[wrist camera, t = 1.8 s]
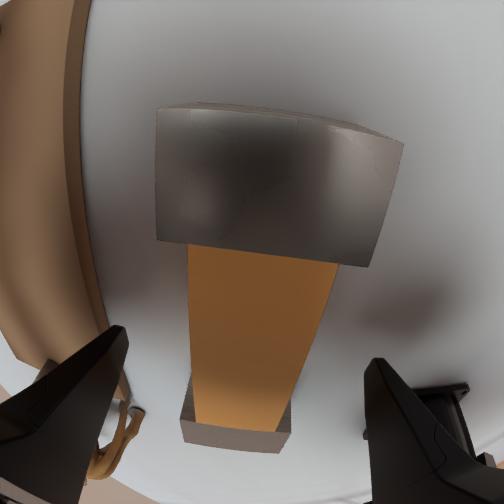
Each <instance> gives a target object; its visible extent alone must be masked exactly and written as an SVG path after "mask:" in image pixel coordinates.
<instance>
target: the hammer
mask: <svg viewBox="0 0 504 504" xmlns="http://www.w3.org/2000/svg"><path fill="white" fill-rule="evenodd" d="M403 146H404V144H403V143H401V142H398V141H396V140H394V139H392V138H389V137H387V136H384V135H382V134H380V133H377V132H375V131H372V130H370V129H367V128H365V127H362V126H360V125H356V124H352V123H347V122H343V121H338V120H333V119H329V118H324V117H318V116H313V115H308V114H302V113H296V112H289V111H283V110H276V109H268V108H260V107H251V106H241V105H229V104H216V103H190V104H182V105H175V106H168V107H162V108H157V126H156V161H155V192H156V228H157V240H161V241H168V242H176V243H184V244H188V307H189V333H190V352H191V369H192V372H191V376H190V379H189V383H188V387H187V391H186V395H185V399H184V403H183V407H182V411H181V415H180V424H181V429H182V433H183V438H184V442H187V443H192V444H198V445H203V446H209V447H216V448H223V449H231V450H239V451H249V452H261V453H277V454H279V452H280V451H281V449H282V448H283V446H284V444H285V443H286V441H287V439H288V438H289V436H290V434H291V394H292V392H293V390H294V387H295V385H296V382H297V380H298V378H299V375H300V373H301V370H302V368H303V365H304V363H305V360H306V358H307V355H308V352H309V350H310V347H311V345H312V342H313V339H314V336H315V334H316V331H317V328H318V326H319V323H320V320H321V317H322V314H323V311H324V309H325V306H326V303H327V300H328V297H329V294H330V291H331V288H332V285H333V282H334V278H335V275H336V272H337V269H338V266H339V264H344V265H352V266H360V267H367V268H368V266H369V264H370V261H371V258H372V255H373V252H374V249H375V246H376V243H377V240H378V237H379V234H380V231H381V228H382V225H383V221H384V218H385V215H386V211H387V208H388V205H389V201H390V198H391V194H392V190H393V187H394V183H395V179H396V175H397V171H398V167H399V163H400V159H401V155H402V150H403Z"/></svg>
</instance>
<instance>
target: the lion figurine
mask: <svg viewBox="0 0 504 504" xmlns="http://www.w3.org/2000/svg"><path fill="white" fill-rule="evenodd" d="M129 404H130V398H129V397H128V396H127V399H126V401H123V400H121V401H120V403H119V409H120V416H119V422H118V426H117V429H116V432H115V435H114V438H113V441H112V442H111V443H109V444H108V445H106V446H105V447H103V448H101V449H99V444H98V440H97V443H96V446H95V449H94V452H93V455H92V458H91V461H90V465H89V468H88V471H87V475H86V478H85V481H84V485H83V486H86V485H87V478H89V479H94V480H99V479H104V478H107V477H108V476H110V475H111V474H112V473H113V471H114V470H115V468H116V467H117V465H118V463H119V461H120V459H121V456H122V454H123V452H124V450H125V448H126V446H127V444H128V443H129V441H130V440H131V439H133V438H134V437H135V436H136V435H137V434H138V431H139V428H140V424H141V422H142V420H143V418H144V416H145V413H144V412H142V411H140V410H138V409H130V411H129V415H130V416H131V418H132V420H131V422H130V424H129V426H128V427H127V428H126V430H125V426H126V419H127V408H128V406H129Z"/></svg>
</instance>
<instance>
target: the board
mask: <svg viewBox="0 0 504 504" xmlns="http://www.w3.org/2000/svg"><path fill="white" fill-rule="evenodd" d="M90 2H91V0H11V1H9V2H7V3H5V4H4V5H2V6H0V330H1V332H2V334H3V336H4V338H5V339H6V341H7V343H8V345H9V346H10V348H11V350H12V351H13V353H14V355H15V356H16V358H17V359H18V360H20V361H22V362H24V363H26V364H28V365H30V366H33V367H35V368H37V369H39V370H40V372H39V374H38V375H37V377H36V379H35V380H34V382H33V383H35V382H36V381H37V380H39V379H40V378H42V377H43V376H44V375H47V373H48V372H50V371H51V370H52V369H54V368H55V367H56V366H58V365H59V364H60V363H62V362H63V361H65V360H66V359H67V358H69V357H70V356H71V355H73V354H74V353H75V352H77V351H78V350H80V349H81V348H82V347H84V346H85V345H86V344H88V343H89V342H91V341H92V340H93V339H95V338H96V337H97V336H99V335H100V334H102V333H103V332H104V331H106V330H107V329H109V324H108V321H107V317H106V314H105V310H104V306H103V302H102V298H101V294H100V290H99V285H98V281H97V276H96V272H95V267H94V262H93V257H92V251H91V246H90V240H89V234H88V227H87V221H86V213H85V205H84V196H83V187H82V175H81V161H80V137H79V103H80V80H81V66H82V55H83V46H84V38H85V31H86V25H87V18H88V13H89V7H90ZM129 391H130V388H129V385H128V382H127V380H126V377H125V374H124V371H123V369H122V372H121V376H120V380H119V383H118V386H117V388H116V391H115V394H114V396H113V398H116V399H120V400H123V401H126V399H127V396H128V394H129Z"/></svg>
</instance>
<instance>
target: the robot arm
mask: <svg viewBox="0 0 504 504" xmlns="http://www.w3.org/2000/svg"><path fill="white" fill-rule="evenodd" d="M128 347H129V341H128V337H127V333H126V329H125V328H124V327H123V326H119V325H113V326H111V327H110V328H109V329H107V330H106V331H104V332H103V333H102V334H100V335H99V336H97V337H96V338H95V339H93V340H92V341H91V342H89V343H88V344H86V345H85V346H84V347H82V348H81V349H80V350H78V351H77V352H75V353H74V354H73V355H71V356H70V357H69V358H67V359H66V360H65V361H63V362H62V363H60V364H59V365H58V366H56V367H55V368H54V369H52V370H51V371H50V372H48V373H47V375H44V376H43V377H42V378H40V379H39V380H37V381H36V382H35V383H33V384H32V385H30V386H29V387H27V388H26V389H24V390H22V391H21V392H19V393H18V394H16V395H14V396H13V397H11V398H9V399H7V400H6V401H4V402H2V403H1V404H0V504H78V502H79V499H80V495H81V492H82V488H83V485H84V481H85V478H86V475H87V471H88V468H89V465H90V461H91V458H92V455H93V452H94V449H95V446H96V443H97V440H98V437H99V434H100V432H101V429H102V426H103V423H104V420H105V418H106V415H107V412H108V409H109V407H110V404H111V401H112V399H113V396H114V394H115V391H116V388H117V386H118V383H119V380H120V376H121V372H122V369H123V365H124V361H125V358H126V354H127V351H128ZM469 391H470V388H469V386H468V384H465V385H458V386H451V387H443V388H435V389H426V390H415V391H412V390H411V389H410V388H409V386H408V385H407V384H406V383H405V382H404V381H403V380H402V378H401V377H400V376H399V375H398V374H397V373H396V371H395V370H394V369H393V368H392V367H391V366H390V365H389V363H388V362H387V361H386V360H385V359H384V358H373V359H372V360H371V362H370V363H369V365H368V367H367V368H366V370H365V372H364V401H365V418H366V427H367V430H366V431H365V432H364V433H363V439H364V440H368V445H369V456H370V468H371V483H372V501H370V502H366V503H363V504H504V469H499V468H497V467H496V464H495V461H494V458H493V456H492V455H490V454H488V453H486V452H483V453H482V454H480V455H478V456H477V458H476V455H475V451H474V448H473V444H472V441H471V438H470V434H469V431H468V428H467V425H466V422H465V419H464V416H463V413H462V411H461V408H460V405H459V401H460V400H461V399H462V398H463V397H464V396H465V395H466V394H467V393H468V392H469Z"/></svg>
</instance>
